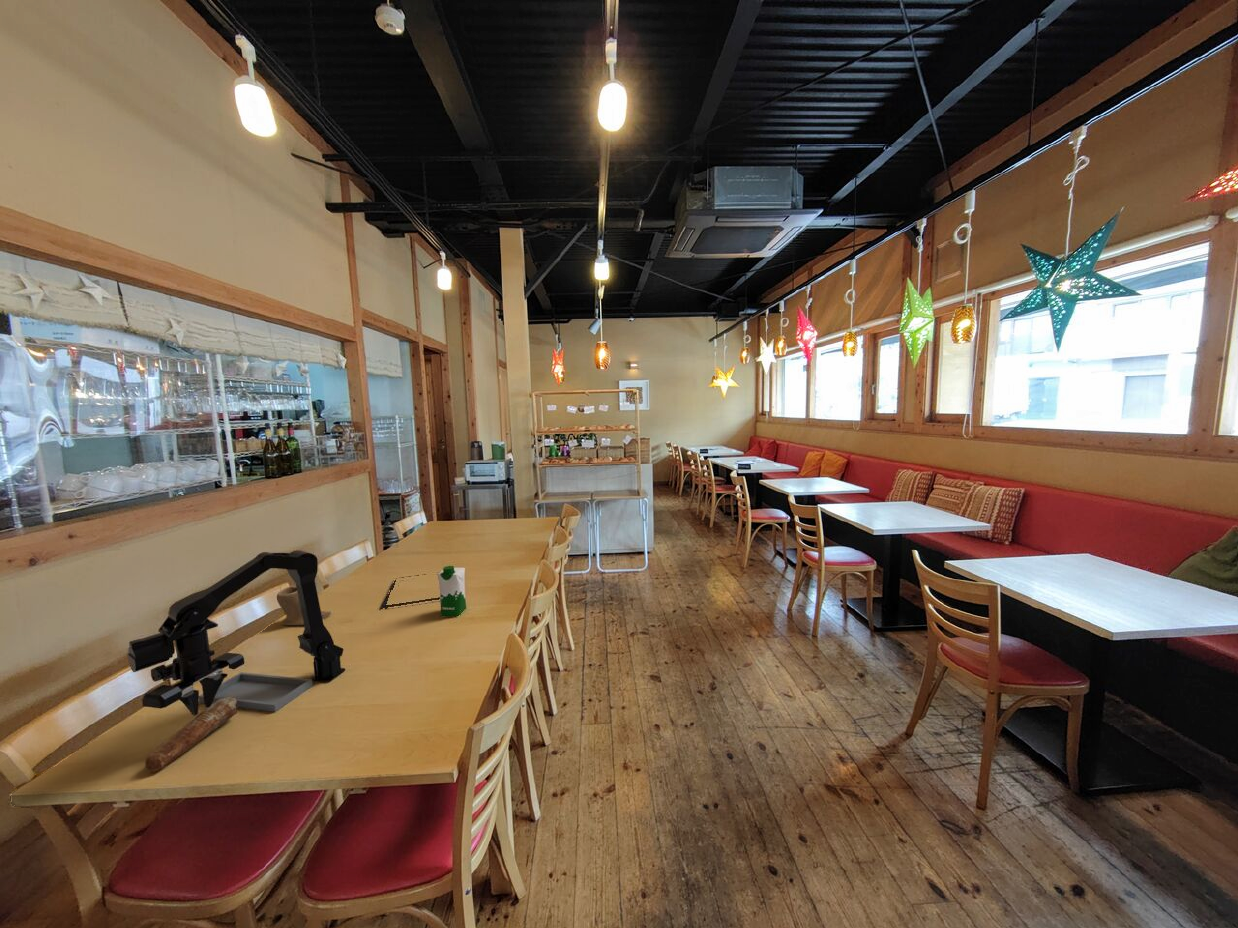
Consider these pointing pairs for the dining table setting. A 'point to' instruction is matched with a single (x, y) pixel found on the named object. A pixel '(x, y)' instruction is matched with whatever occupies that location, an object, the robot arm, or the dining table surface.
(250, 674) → the serving tray
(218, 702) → the brown tapered rod
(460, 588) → the milk carton
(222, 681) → the robot arm
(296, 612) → the stone cup
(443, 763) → the dining table surface
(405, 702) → the dining table surface
